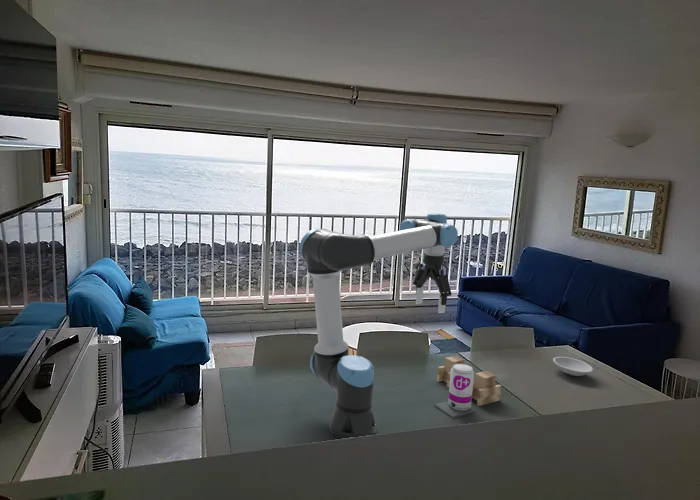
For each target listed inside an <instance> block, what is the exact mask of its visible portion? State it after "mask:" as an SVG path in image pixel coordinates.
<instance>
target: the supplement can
mask: <svg viewBox="0 0 700 500" xmlns="http://www.w3.org/2000/svg"><path fill="white" fill-rule="evenodd" d="M474 376H475V371H474V369H473V367H472V366H471V365H470V364H466V363H464V364H454V365H453V367H452V369H451V375H450V386H449V388H448V400H447V401H448V404H449V405H450V407H451V408H453V409H455V410H459V411H465V410H468V409H469V408H470V409H471V407H472V399H473V398H472V390H473V382H474Z"/></svg>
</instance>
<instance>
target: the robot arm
mask: <svg viewBox="0 0 700 500" xmlns="http://www.w3.org/2000/svg"><path fill="white" fill-rule="evenodd" d="M447 222H448V219H447V215H446V214H443V213H435V212H434V213H432V212H431V213H428V214H427V215H426V218H424V219H423V218H422V219H420V218H419V219H418V218H417V219H415V218H414V219H413V218H410V219H409V218H408V219H404V220H402V222H401V223H400V225H399V230H397V231H392V232H386V233H380V234H376V235H371V236H369V235H368V234H364V233H363V234H359V235H358V234H357V235H354V234H347V233H341V232H336V231H332V230H328V229H326V228H313V229H311V230H309V231H308V232H306V233H305V235H303V237H302V239H301V240H300V244H299V252H300V256H301V258H303V260H304V261H306V270H307V273H308V274H309V276H311V277H312V285H313V286H312V287H313V296H314V307H315V320H316V331H317V340H318V342H317V343H316V344H315V345H314V351H313V353H312V354H311V357H310V359H309V361H310V362H309V366H310V369H311V372H312V373H313V374H314V375H315V376H316V378H317V379H318V380H320V381H321V382H323V383H324V384H325V385H327V386H328V387H329V388H331V389H332V390H334V391H335V392H336V397H335V398H336V399H335V407H334V410H333V413H332V415H331V418H330V419H329V420H330V421H329V432H330V433H331V435H332V436H333V437H334V438H337V439H339V440H341V439H340V438H349V437H359V436H366V435H373V434H374V433H375V434H376V430H377V428H376V427H377V425H376V420H375V417H374V412H373V394H374V393H373V392H374V382H375V381H374V380H375V371H374V369H375V367H374V365H373V363H372V362H371V361H370V360H369V359H367V358H366V357H363V356H359V355H355V354H349V344H348V342H347V341H345V339H344V334H343V330H344V329H343V319H342V307H341V292H340V290H341V289H340V279H339V274H341V272H342V271H344V270H345V271H346V270H347V271H348V270H352V269H357V268H361V267H364V266H369V265H372V264H373V263H374V262H375V261H377V260H381V259H385V258H389V257H394V256H398V255H403V254H407V253H408V254H409V253H412V252H416V251H422V250H423V252H424V253H425V254H423V263H419V265H418V270H417V272H416V275H415V277H414V279H413V281H412V284H413V285H414V286H415V288H416V289H415V295H416V296H415V297H416V298H415V304H416V305H420V304H422V305H423V300H424V299H423V297H424V285H425V284H426V282H427V281H428V279H429V278H430V279H431V280H433V281H434V282H435V284H436V286H437V289H438V291H439V294H440V295H439V296H438V306H437V314H445V313H446V306H447V299H448V297H450V296H452V289H451V286H450V282H449V281H450V280H449V276H448V270H447V269H442V266H443V265H444V260H445V256H444V254H445V250H446V249H445V248H446V247H447V248H448V247H452V246H454V245H455V244H456V242H457V241H458V237H459V236H458V232H459V231H458V229H457V228H456V227H455V225H452V224H449V223H447ZM375 434H374V435H375Z"/></svg>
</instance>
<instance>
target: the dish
mask: <svg viewBox="0 0 700 500" xmlns="http://www.w3.org/2000/svg"><path fill="white" fill-rule="evenodd" d="M552 361H553V363H554V364H555V366H557V368H559V370H560V371H561V372H563V373H566V374H567V375H569V376H574V377H575V376H576V377H581V376H585V375H588V374H589V373H592V372H594V371H593V370H594V369H593V367H592V366H591V365H590V364H588V363H587V362H585V361H582V360H579V359H576V358H572V357H567V356H555V357H553V358H552Z"/></svg>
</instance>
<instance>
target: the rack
mask: <svg viewBox="0 0 700 500" xmlns="http://www.w3.org/2000/svg"><path fill="white" fill-rule="evenodd" d="M454 364H465V359H463V358H461V357H460V356H458V355H452V356H448V357H447V356H446V357H445V358H444V365H442V366H441V365H440V366H438V367H437V373H436V374H437V376H436V377H437V378H436V382H438V383H439V382H445V383H446V387H447V388H448V389H449V386H450V375H451V369H452V367H453V365H454ZM496 378H497V376H496V375H495V374H494V373H491V372H490V371H487V370H482V371H479V372H474V379H473V390H472V399H473V400H475V401H476V402H477V403H476V406H477V407H478V406H481V407H482V406H484V405H488V404H491V403H494V402H495V403H496V402H498V401H501V396H502V395H501V392H502V385H501V384H496V380H497V379H496Z"/></svg>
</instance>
